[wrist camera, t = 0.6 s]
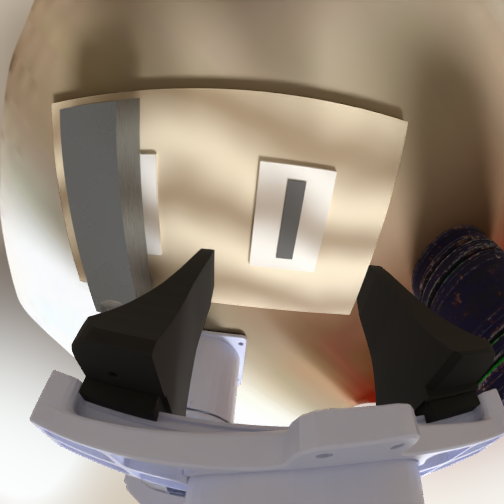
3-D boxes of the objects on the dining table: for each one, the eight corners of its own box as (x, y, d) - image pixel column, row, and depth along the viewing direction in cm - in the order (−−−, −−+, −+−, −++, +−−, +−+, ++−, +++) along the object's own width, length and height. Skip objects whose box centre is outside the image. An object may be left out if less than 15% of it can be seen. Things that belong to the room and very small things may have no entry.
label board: (347, 308, 25) (350, 317, 24) (84, 276, 25) (78, 283, 24) (403, 120, 16) (410, 122, 15) (57, 102, 16) (48, 104, 15)
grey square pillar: (160, 298, 24) (144, 334, 20) (120, 292, 24) (101, 325, 20) (148, 96, 15) (116, 100, 11) (97, 101, 15) (59, 109, 11)
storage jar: (445, 208, 19) (559, 339, 6) (501, 241, 20) (583, 343, 7) (392, 299, 24) (444, 443, 11) (453, 313, 25) (505, 423, 12)
